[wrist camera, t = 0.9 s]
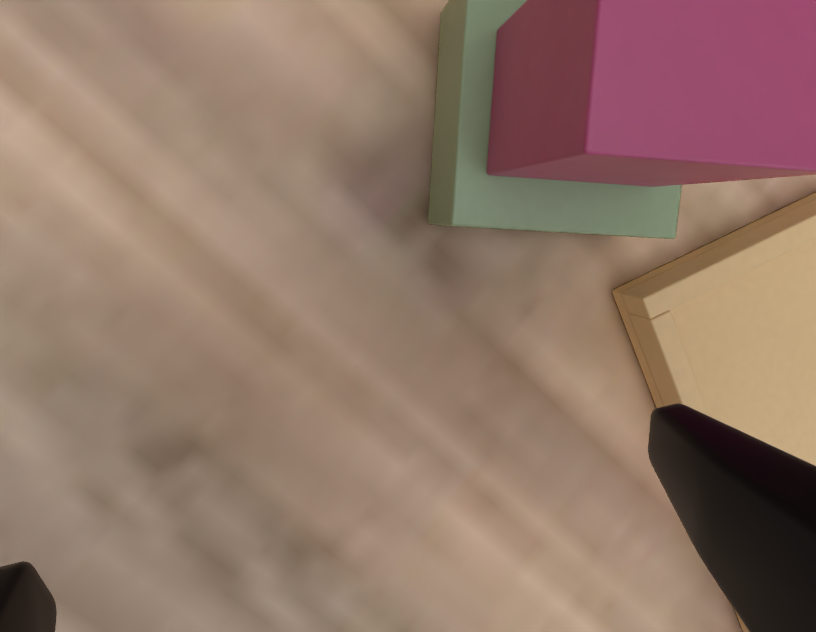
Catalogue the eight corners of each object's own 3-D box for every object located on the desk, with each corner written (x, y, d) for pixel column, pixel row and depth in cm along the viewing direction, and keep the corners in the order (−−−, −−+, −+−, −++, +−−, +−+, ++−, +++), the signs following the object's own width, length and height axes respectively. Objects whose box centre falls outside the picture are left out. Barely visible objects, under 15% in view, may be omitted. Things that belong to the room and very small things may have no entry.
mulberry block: (654, 187, 20) (836, 173, 13) (485, 175, 19) (584, 154, 12) (669, 47, 19) (869, -46, 12) (496, 28, 18) (606, -81, 12)
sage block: (616, 235, 24) (676, 239, 20) (427, 223, 23) (451, 226, 19) (637, 32, 23) (704, -5, 19) (440, 11, 22) (468, -33, 18)
